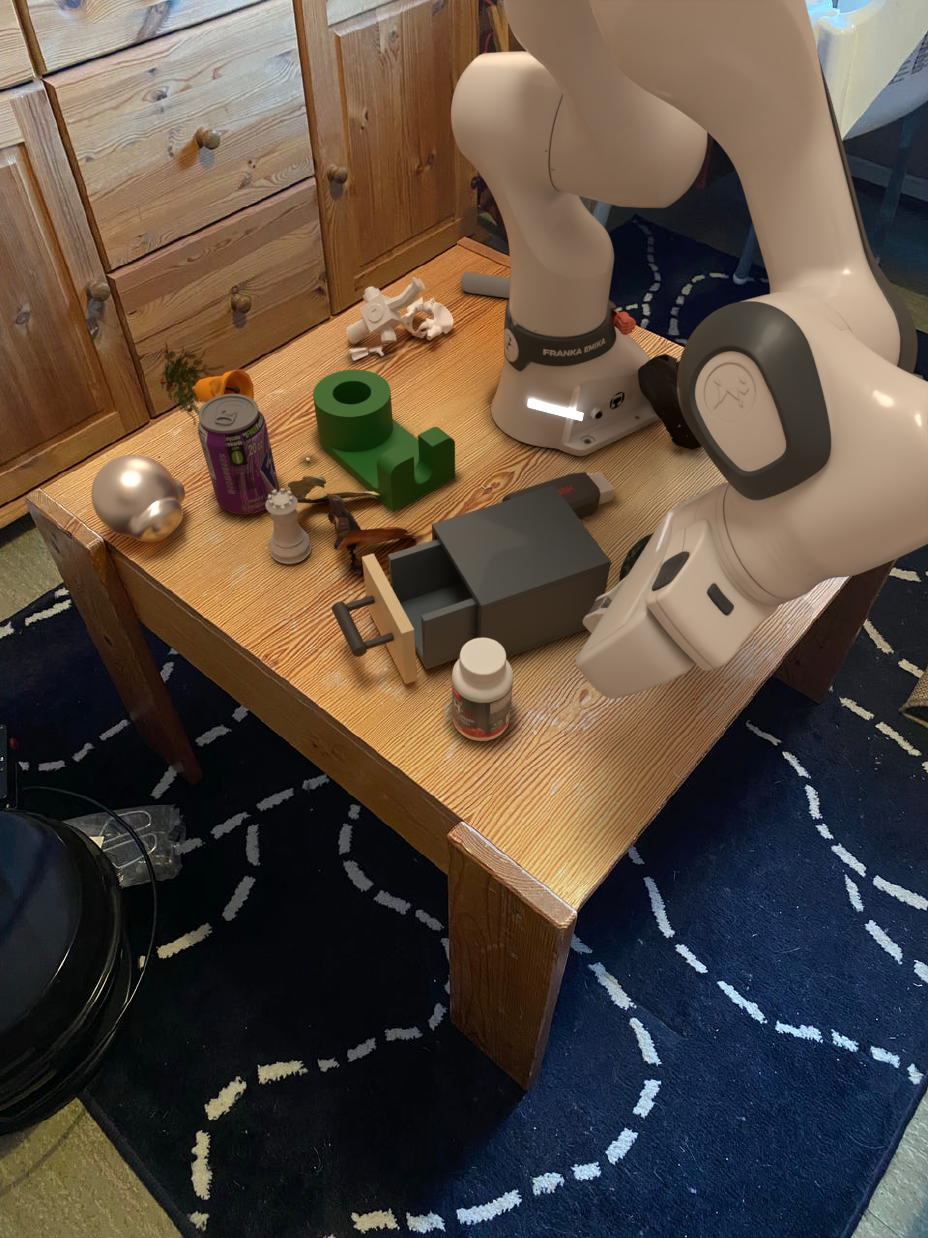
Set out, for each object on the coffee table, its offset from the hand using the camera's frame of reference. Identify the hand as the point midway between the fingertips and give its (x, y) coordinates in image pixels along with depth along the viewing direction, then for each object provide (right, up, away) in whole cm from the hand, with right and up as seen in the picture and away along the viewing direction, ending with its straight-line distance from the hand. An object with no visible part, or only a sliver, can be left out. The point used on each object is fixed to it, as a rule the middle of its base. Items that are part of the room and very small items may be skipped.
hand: (594, 617), depth 72 cm
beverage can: (-35, +14, +31) cm, 49 cm away
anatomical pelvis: (-16, +39, +52) cm, 67 cm away
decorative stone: (+10, 0, +21) cm, 23 cm away
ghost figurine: (-47, +16, +28) cm, 57 cm away
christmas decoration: (-28, +24, +32) cm, 49 cm away
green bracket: (-21, +19, +36) cm, 46 cm away
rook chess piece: (-29, +7, +26) cm, 40 cm away
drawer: (-14, -1, +18) cm, 23 cm away
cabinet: (-5, +1, +21) cm, 22 cm away
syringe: (-25, +34, +47) cm, 63 cm away
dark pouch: (+16, +26, +35) cm, 46 cm away
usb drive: (0, +12, +31) cm, 33 cm away
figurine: (-22, +9, +28) cm, 37 cm away
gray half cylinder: (-1, +47, +59) cm, 75 cm away
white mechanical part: (-16, +43, +45) cm, 64 cm away
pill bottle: (-9, -10, +13) cm, 18 cm away
